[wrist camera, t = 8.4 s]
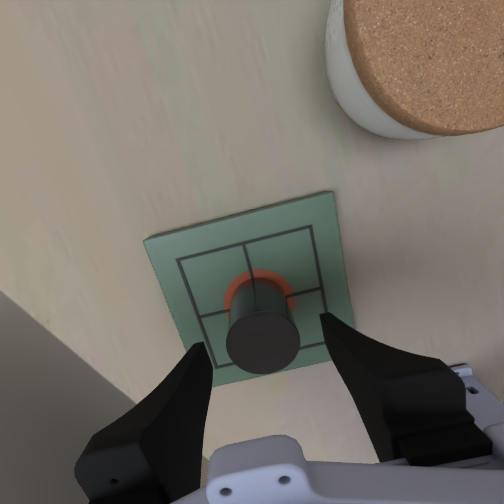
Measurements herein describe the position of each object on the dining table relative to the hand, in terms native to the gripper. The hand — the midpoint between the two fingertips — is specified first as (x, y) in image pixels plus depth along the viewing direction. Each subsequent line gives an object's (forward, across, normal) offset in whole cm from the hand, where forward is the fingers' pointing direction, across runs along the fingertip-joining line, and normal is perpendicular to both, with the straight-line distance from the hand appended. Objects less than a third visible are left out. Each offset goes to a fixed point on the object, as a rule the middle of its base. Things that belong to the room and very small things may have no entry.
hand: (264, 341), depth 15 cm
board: (+6, 0, 0) cm, 6 cm away
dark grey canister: (+5, 0, 0) cm, 5 cm away
